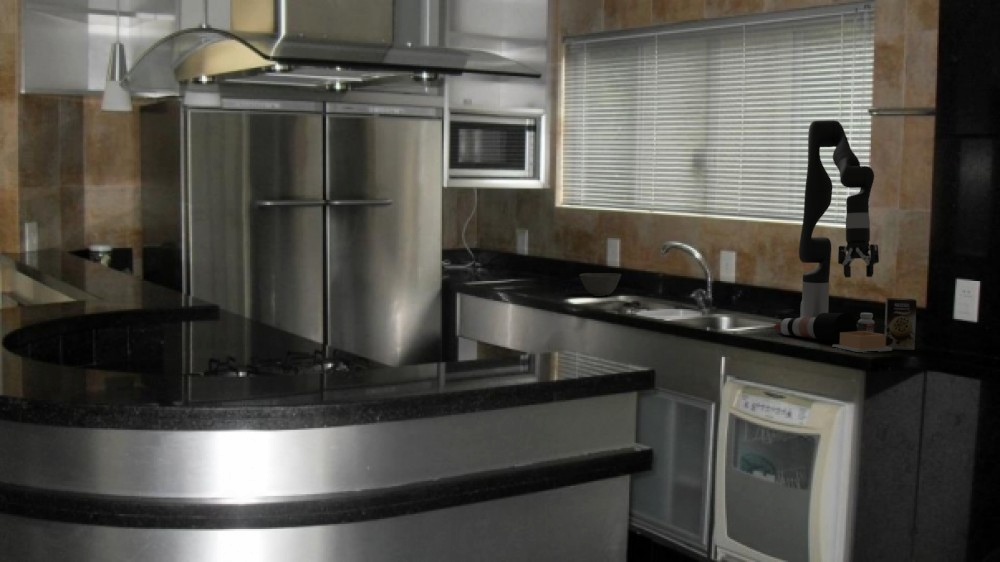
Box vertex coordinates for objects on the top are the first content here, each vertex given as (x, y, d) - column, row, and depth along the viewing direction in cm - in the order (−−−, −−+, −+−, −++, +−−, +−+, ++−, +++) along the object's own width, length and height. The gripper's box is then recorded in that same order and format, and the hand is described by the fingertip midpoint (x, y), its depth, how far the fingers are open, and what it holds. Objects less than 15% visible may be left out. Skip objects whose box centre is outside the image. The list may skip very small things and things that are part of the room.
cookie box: (885, 349, 388) (887, 299, 386) (883, 346, 394) (885, 297, 392) (915, 350, 386) (917, 300, 384) (912, 347, 392) (914, 298, 391)
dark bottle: (782, 345, 425) (791, 319, 428) (851, 348, 396) (860, 320, 398) (762, 334, 421) (771, 307, 423) (830, 336, 392) (839, 307, 394)
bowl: (622, 294, 549) (623, 272, 548) (619, 299, 530) (619, 276, 529) (582, 293, 552) (582, 271, 551) (576, 298, 534) (577, 275, 533)
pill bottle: (868, 343, 399) (869, 314, 398) (854, 342, 403) (855, 313, 402) (877, 342, 403) (878, 313, 402) (862, 340, 407) (863, 311, 406)
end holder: (832, 347, 391) (832, 332, 390) (867, 345, 396) (868, 330, 395) (856, 352, 379) (856, 337, 379) (892, 350, 385) (892, 335, 384)
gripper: (883, 226, 388) (884, 276, 388) (847, 228, 399) (848, 277, 399) (868, 226, 384) (869, 277, 383) (832, 228, 395) (833, 277, 395)
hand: (858, 277), depth 391 cm, fingers open, 8 cm apart
